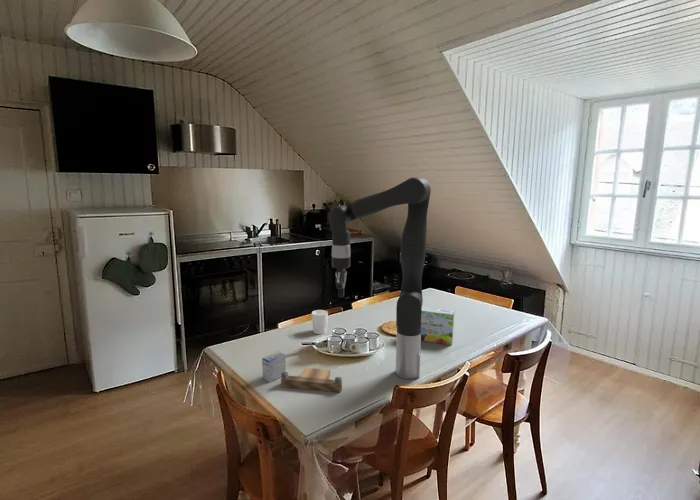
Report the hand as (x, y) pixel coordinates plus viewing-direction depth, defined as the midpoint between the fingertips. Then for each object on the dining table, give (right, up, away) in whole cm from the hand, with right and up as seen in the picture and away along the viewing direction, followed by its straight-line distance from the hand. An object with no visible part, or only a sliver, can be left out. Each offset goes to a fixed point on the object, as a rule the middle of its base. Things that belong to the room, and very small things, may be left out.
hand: (341, 296), depth 165 cm
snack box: (+41, -23, +25) cm, 53 cm away
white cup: (-11, -21, +34) cm, 42 cm away
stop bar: (-10, -31, -18) cm, 37 cm away
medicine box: (-25, -30, -11) cm, 40 cm away
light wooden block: (-9, -30, -13) cm, 34 cm away
